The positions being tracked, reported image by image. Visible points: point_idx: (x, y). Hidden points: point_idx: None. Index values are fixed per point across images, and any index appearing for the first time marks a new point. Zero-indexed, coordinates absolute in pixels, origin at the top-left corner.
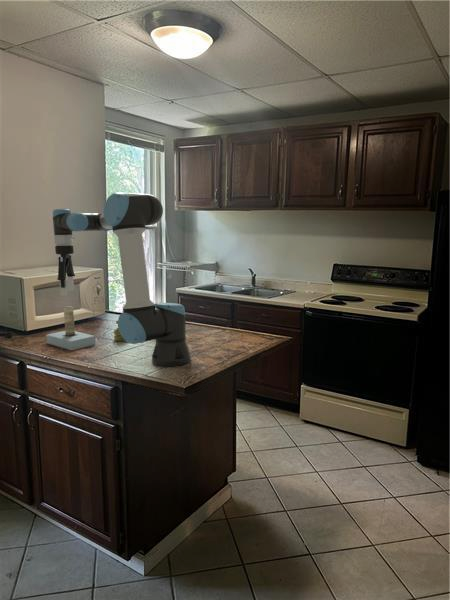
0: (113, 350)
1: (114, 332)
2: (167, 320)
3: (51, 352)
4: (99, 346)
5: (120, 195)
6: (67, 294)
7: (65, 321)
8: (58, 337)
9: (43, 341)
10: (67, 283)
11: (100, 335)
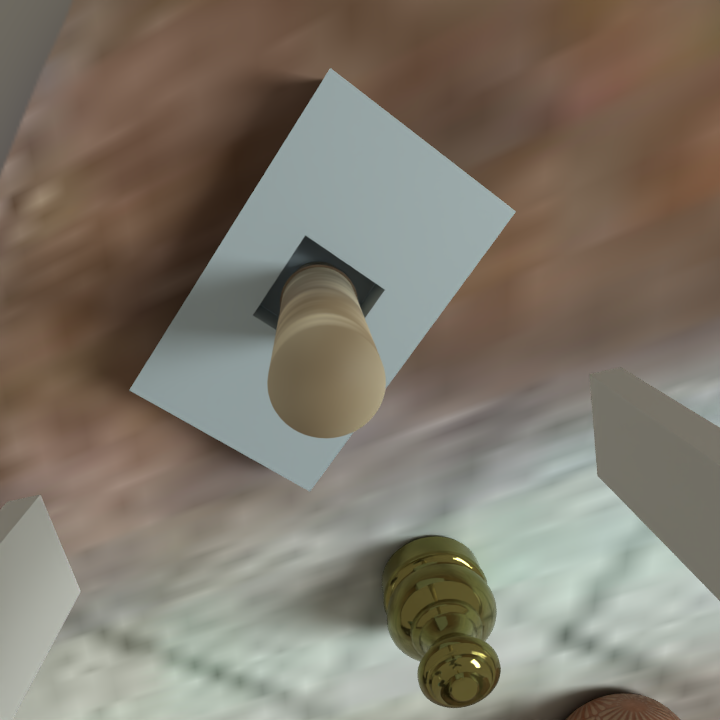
0: (184, 608)
1: (406, 586)
2: None
3: (74, 247)
4: (264, 502)
5: None
6: (75, 595)
7: (282, 312)
8: (236, 235)
9: (381, 17)
10: (677, 445)
11: (557, 404)
